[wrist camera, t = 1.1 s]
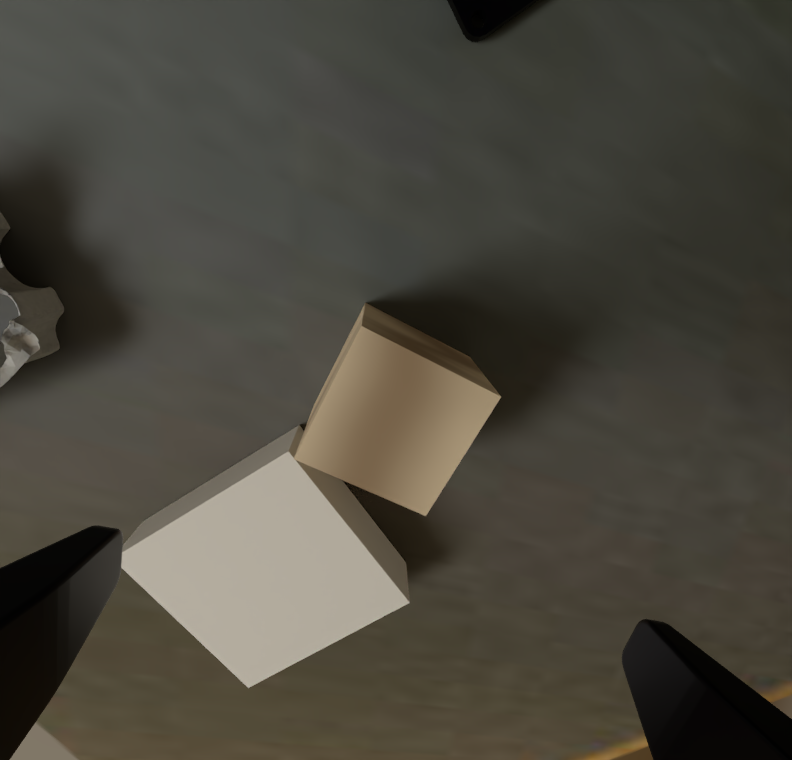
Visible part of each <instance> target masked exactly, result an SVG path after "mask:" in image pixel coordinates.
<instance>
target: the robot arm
mask: <svg viewBox="0 0 792 760" xmlns="http://www.w3.org/2000/svg"><path fill="white" fill-rule="evenodd" d="M447 1H448V3H449V5H450V7H451V9H452V11H453V13H454V15H455V17H456V20H457V22H458V24H459V26H460V28H461V30H462V32H463V34H464V35H465V37H466V38H467V39H468V40H470V41H472V42H479V41H481V40H483V39H485V38H486V37H487V36H489V35H490V34H492V33H493V32H494V31H496V30H497V29H499V28H500V27H502V26H503V25H504V24H506V23H507V22H509V21H510V20H511V19H513V18H514V17H516V16H517V15H518V14H520V13H521V12H523V11H524V10H525V9H527V8H528V7H530V6H531V5H532V4H534V3H535V2H537V1H538V0H447ZM475 15H477V16H480V17H481V18H482V19H483V24H484V25H483V27H481V28H476V27H474V26H473V25H472V22H471V18H472V17H473V16H475ZM122 548H123V534H122V532H121V531H120V530H119V529H115V528H110V527H104V526H91V527H88V528H86V529H84V530H82V531H80V532H77V533H75V534H73V535H71V536H69V537H67V538H64V539H62V540H60V541H58V542H56V543H54V544H51V545H49V546H47V547H45V548H43V549H41V550H38V551H36V552H34V553H32V554H30V555H28V556H25V557H23V558H21V559H19V560H17V561H14V562H12V563H10V564H8V565H6V566H4V567H1V568H0V760H9V759H10V758H11V757H12V755H13V754H14V753H15V751H16V750H17V748H18V747H19V745H20V744H21V742H22V741H23V739H24V738H25V737H26V735H27V734H28V732H29V731H30V729H31V728H32V726H33V725H34V724H35V722H36V721H37V719H38V718H39V716H40V715H41V713H42V712H43V710H44V709H45V707H46V706H47V704H48V703H49V701H50V700H51V698H52V697H53V695H54V694H55V692H56V691H57V689H58V687H59V686H60V684H61V682H62V681H63V679H64V677H65V676H66V674H67V672H68V670H69V669H70V667H71V665H72V663H73V661H74V660H75V658H76V656H77V654H78V653H79V651H80V649H81V647H82V646H83V644H84V642H85V640H86V638H87V637H88V635H89V633H90V631H91V630H92V628H93V626H94V624H95V622H96V621H97V619H98V617H99V615H100V614H101V612H102V610H103V608H104V606H105V605H106V603H107V601H108V599H109V598H110V596H111V594H112V592H113V591H114V589H115V587H116V585H117V582H118V580H119V577H120V573H121V563H122ZM622 664H623V668H624V671H625V675H626V678H627V681H628V684H629V687H630V690H631V693H632V696H633V699H634V702H635V705H636V708H637V711H638V714H639V718H640V721H641V724H642V727H643V730H644V733H645V736H646V739H647V742H648V745H649V748H650V751H651V754H652V757H653V760H792V719H791V718H789V717H788V716H787V715H786V714H784V713H783V712H782V711H780V710H779V709H778V708H776V707H775V706H774V705H773V704H771V703H770V702H769V701H767V700H766V699H765V698H763V697H762V696H761V695H760V694H758V693H757V692H756V691H754V690H753V689H752V688H750V687H749V686H748V685H747V684H745V683H744V682H743V681H741V680H740V679H739V678H737V677H736V676H735V675H734V674H732V673H731V672H730V671H728V670H727V669H726V668H724V667H723V666H722V665H721V664H719V663H718V662H717V661H715V660H714V659H713V658H711V657H710V656H709V655H708V654H706V653H705V652H704V651H702V650H701V649H700V648H698V647H697V646H696V645H695V644H693V643H692V642H691V641H689V640H688V639H687V638H685V637H684V636H683V635H682V634H680V633H679V632H678V631H676V630H675V629H674V628H672V627H671V626H670V625H668V624H666V623H664V622H660V621H654V620H648V619H644V620H641V621H640V622H639V623H638V624H637V626H636V628H635V629H634V631H633V633H632V635H631V637H630V639H629V641H628V642H627V644H626V646H625V648H624V650H623V654H622Z"/></svg>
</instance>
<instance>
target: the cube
mask: <svg viewBox="0 0 792 760" xmlns="http://www.w3.org/2000/svg"><path fill="white" fill-rule="evenodd" d="M500 398H501V396H500V394H499V393H498V392H497V391H496V389H495V388H494V387H493V386H492V384H491V383H490V382H489V380H488V379H487V378H486V377H485V375H484V374H483V373H482V372H481V370H480V369H479V368H478V367H477V365H476V364H475V363H474V361H473V360H472V359H471V358H470V357H469V356H467V355H465V354H463V353H461V352H460V351H458V350H456V349H454V348H452V347H450V346H448V345H446V344H444V343H442V342H440V341H438V340H436V339H434V338H433V337H431V336H429V335H427V334H425V333H423V332H421V331H419V330H417V329H415V328H413V327H411V326H409V325H407V324H406V323H404V322H402V321H400V320H398V319H396V318H394V317H392V316H390V315H388V314H386V313H384V312H382V311H380V310H379V309H377V308H375V307H373V306H371V305H369V304H367V303H365V305H364V307H363V309H362V311H361V312H360V314H359V316H358V318H357V320H356V322H355V324H354V326H353V328H352V330H351V332H350V334H349V336H348V338H347V340H346V342H345V344H344V346H343V348H342V350H341V352H340V354H339V356H338V358H337V360H336V362H335V364H334V366H333V368H332V370H331V372H330V374H329V376H328V378H327V380H326V382H325V384H324V386H323V388H322V390H321V392H320V394H319V396H318V398H317V400H316V402H315V404H314V406H313V409H312V412H311V414H310V417H309V420H308V422H307V425H306V428H305V430H304V433H303V436H302V438H301V441H300V444H299V446H298V449H297V452H296V454H295V457H294V460H297V461H299V462H301V463H304V464H306V465H308V466H311V467H313V468H315V469H318V470H320V471H322V472H325V473H327V474H329V475H332V476H334V477H336V478H339V479H341V480H343V481H345V482H348V483H350V484H352V485H355V486H357V487H359V488H362V489H364V490H366V491H369V492H371V493H373V494H376V495H378V496H380V497H383V498H385V499H387V500H390V501H392V502H394V503H397V504H399V505H401V506H403V507H406V508H408V509H410V510H413V511H415V512H417V513H420V514H422V515H424V516H426V515H427V513H428V512H429V510H430V509H431V507H432V506H433V504H434V502H435V501H436V499H437V498H438V496H439V495H440V493H441V491H442V490H443V488H444V487H445V485H446V483H447V482H448V480H449V479H450V477H451V476H452V474H453V472H454V471H455V469H456V468H457V466H458V464H459V463H460V461H461V460H462V458H463V457H464V455H465V453H466V452H467V450H468V449H469V447H470V445H471V444H472V442H473V441H474V439H475V438H476V436H477V434H478V433H479V431H480V430H481V428H482V426H483V425H484V423H485V422H486V420H487V419H488V417H489V415H490V414H491V412H492V411H493V409H494V408H495V406H496V404H497V403H498V401H499V400H500Z"/></svg>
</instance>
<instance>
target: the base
mask: <svg viewBox="0 0 792 760" xmlns="http://www.w3.org/2000/svg"><path fill="white" fill-rule="evenodd" d="M303 433H304V430H303V429H302V428H301V426H300V425H298V426H297V427H295V428H294V429H292V430H290V431H289V432H287V433H285V434H284V435H282V436H281V437H279V438H277V439H276V440H274V441H272V442H271V443H269V444H268V445H266V446H264V447H263V448H261V449H259V450H258V451H256V452H255V453H253V454H251V455H250V456H248V457H246V458H245V459H243V460H242V461H240V462H238V463H237V464H235V465H233V466H232V467H230V468H229V469H227V470H225V471H224V472H222V473H221V474H219V475H217V476H216V477H214V478H212V479H211V480H209V481H208V482H206V483H204V484H203V485H201V486H199V487H198V488H196V489H195V490H193V491H191V492H190V493H188V494H186V495H185V496H183V497H182V498H180V499H178V500H177V501H175V502H173V503H172V504H170V505H169V506H167V507H165V508H164V509H162V510H160V511H159V512H157V513H156V514H154V515H152V516H151V517H149V518H147V519H146V520H144V521H143V522H142V523H141V524H140V525H139V527H138V528H137V529H136V530H135V532H134V533H133V534H132V535H131V536H130V538H129V539H128V540H127V541H126V542H125V544H124V545H123V548H122V563H121V568H122V569H123V570H125V571H126V572H127V573H128V574H129V575H130V576H131V577H132V578H133V579H134V580H135V581H136V582H137V583H138V584H139V585H140V586H141V587H142V588H144V589H145V590H146V591H147V592H148V593H149V594H150V595H151V596H152V597H153V598H154V599H155V600H156V601H157V602H158V603H159V604H160V605H161V606H163V607H164V608H165V609H166V610H167V611H168V612H169V613H170V614H171V615H172V616H173V617H174V618H175V619H176V620H177V621H178V622H179V623H180V624H182V625H183V626H184V627H185V628H186V629H187V630H188V631H189V632H190V633H191V634H192V635H193V636H194V637H195V638H196V639H197V640H198V641H199V642H201V643H202V644H203V645H204V646H205V647H206V648H207V649H208V650H209V651H210V652H211V653H212V654H213V655H214V656H215V657H216V658H217V659H218V660H220V661H221V662H222V663H223V664H224V665H225V666H226V667H227V668H228V669H229V670H230V671H231V672H232V673H233V674H234V675H235V676H236V677H237V678H239V679H240V680H241V681H242V682H243V683H244V684H245V685H246V686H247V687H248V688H249V687H251V686H253V685H255V684H257V683H259V682H260V681H262V680H264V679H266V678H268V677H270V676H272V675H274V674H276V673H277V672H279V671H281V670H283V669H285V668H287V667H289V666H291V665H293V664H294V663H296V662H298V661H300V660H302V659H304V658H306V657H308V656H310V655H312V654H313V653H315V652H317V651H319V650H321V649H323V648H325V647H327V646H329V645H330V644H332V643H334V642H336V641H338V640H340V639H342V638H344V637H346V636H348V635H349V634H351V633H353V632H355V631H357V630H359V629H361V628H363V627H365V626H366V625H368V624H370V623H372V622H374V621H376V620H378V619H380V618H382V617H384V616H385V615H387V614H389V613H391V612H393V611H395V610H397V609H399V608H401V607H402V606H404V605H406V604H408V603H410V600H409V589H408V578H407V566H406V562H405V561H404V559H403V558H402V557H401V555H400V554H399V553H398V552H397V550H396V549H395V548H394V546H393V545H392V544H391V543H390V541H389V540H388V539H387V537H386V536H385V535H384V534H383V532H382V531H381V530H380V528H379V527H378V526H377V525H376V523H375V522H374V521H373V519H372V518H371V517H370V515H369V514H368V513H367V512H366V510H365V509H364V508H363V506H362V505H361V504H360V503H359V501H358V500H357V499H356V497H355V496H354V495H353V494H352V492H351V491H350V490H349V488H348V487H347V486H346V484H345V483H344V482H343V481H342V480H341V479H339V478H336V477H334V476H332V475H329V474H327V473H325V472H322V471H320V470H318V469H315V468H313V467H311V466H308V465H306V464H304V463H301V462H299V461H297V460H294V457H295V454H296V452H297V449H298V446H299V444H300V441H301V438H302V436H303Z"/></svg>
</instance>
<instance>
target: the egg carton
mask: <svg viewBox="0 0 792 760" xmlns="http://www.w3.org/2000/svg"><path fill="white" fill-rule="evenodd" d="M9 230H10V226H9V224H8V222H7V221H6V219H5V218H4V216H3V215H2V213H1V212H0V243H1V241H2V238H3V237H4V236H5V234H6V233H7V232H8V231H9ZM0 294H3V295H7V296H9V297H10V298H11V299H12V300H13V301H14V303H15V305H16V306H17V308H18V312H19V317H17V318H15V319H12V320H9V323H10V324H9V326H8V328H6V329H5V330H4V332H3V334H2V337H1V341H2V343H0V387H1V386H3V385H4V384H5V383H6V382H7V381H8V380H9V379H11V378H12V376H13V375H14V374H15V373H16V372H17V371H18V370H19V369H20V367H21V366H22V365H23V364H25V363H28V362H31V361H34V360H37V359H40V358H43V357H45V356H47V355H50V354H52V353H54V352H56V351H57V350H59V349H60V344H59V341H58V339H57V336H56V331H55V328H56V324H57V321H58V319H59V317H60V316H61V315H62V314H63V313H64V306H63V304H62V303H61V301H60V299H59V298H58V296H57V293H56V292H55V290H54V289H52V288H51V287H46V288H34V287H29V286H26V285H24V284H22V283H21V282H19V281H18V280H17V279H16V278H14V277H13V276H12V275H11V274H10V273H9V272H8V270H7V269H6V267H5V266H4V264H3V262H2V259H1V256H0Z"/></svg>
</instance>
